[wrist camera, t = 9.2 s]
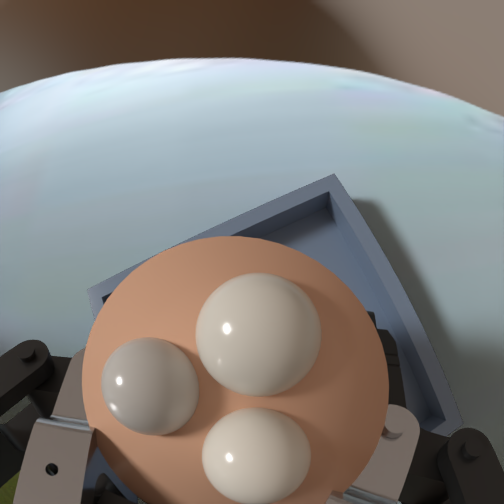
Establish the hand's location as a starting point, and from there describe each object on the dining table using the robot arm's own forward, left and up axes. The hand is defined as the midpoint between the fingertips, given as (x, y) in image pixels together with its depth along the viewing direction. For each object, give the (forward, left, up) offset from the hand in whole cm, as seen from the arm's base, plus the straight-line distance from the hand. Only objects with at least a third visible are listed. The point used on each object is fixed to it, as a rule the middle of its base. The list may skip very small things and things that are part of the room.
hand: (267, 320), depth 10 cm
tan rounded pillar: (-1, -2, -5) cm, 5 cm away
